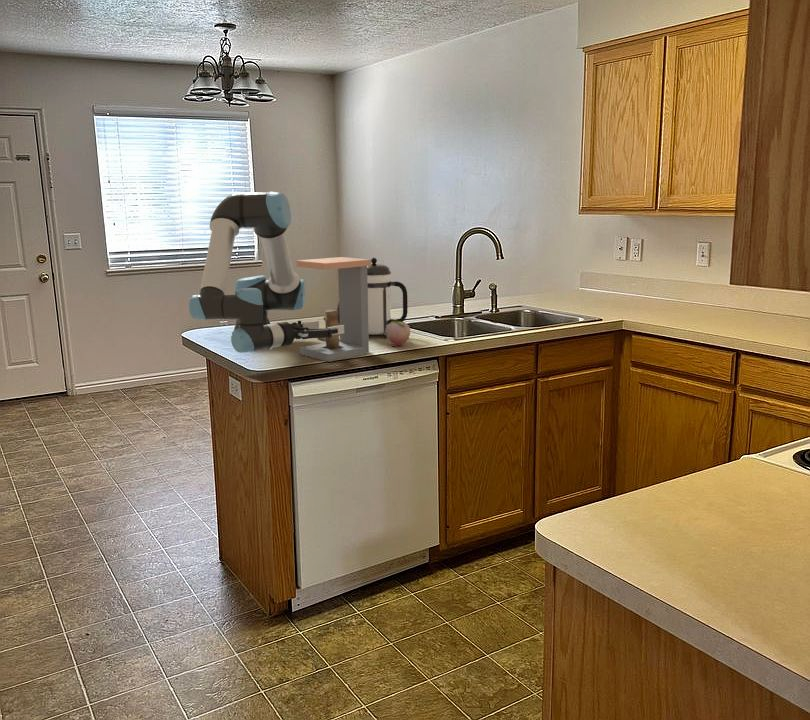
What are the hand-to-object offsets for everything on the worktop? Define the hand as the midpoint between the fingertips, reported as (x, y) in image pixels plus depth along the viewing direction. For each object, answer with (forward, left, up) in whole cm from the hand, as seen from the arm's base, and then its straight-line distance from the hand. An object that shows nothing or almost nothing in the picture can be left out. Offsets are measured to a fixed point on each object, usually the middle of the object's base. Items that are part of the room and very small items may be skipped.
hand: (330, 326), depth 251 cm
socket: (0, +2, -10) cm, 10 cm away
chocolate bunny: (-23, +17, -10) cm, 30 cm away
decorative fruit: (+5, +27, -10) cm, 29 cm away
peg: (0, +1, -10) cm, 10 cm away
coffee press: (-15, +35, -10) cm, 39 cm away
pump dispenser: (-29, +31, -10) cm, 44 cm away
